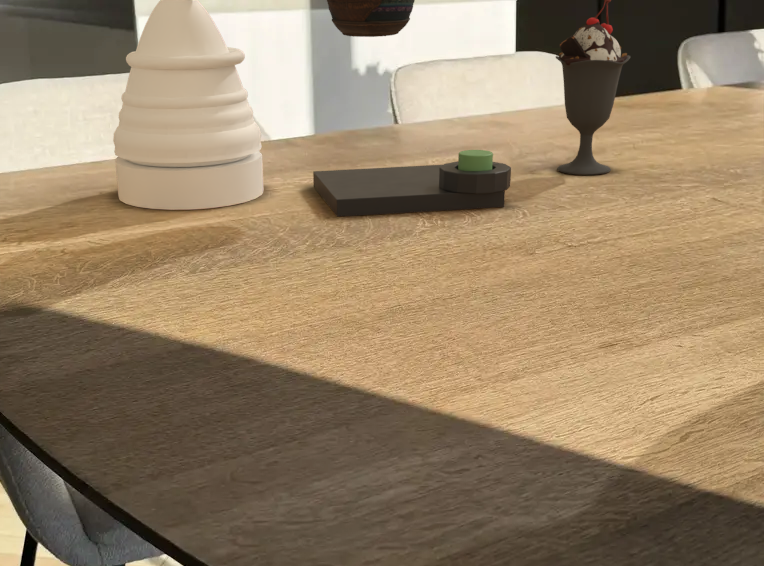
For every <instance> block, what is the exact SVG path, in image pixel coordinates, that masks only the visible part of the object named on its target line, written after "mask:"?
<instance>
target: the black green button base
mask: <svg viewBox="0 0 764 566" xmlns="http://www.w3.org/2000/svg"><path fill="white" fill-rule="evenodd" d="M312 174H313V175H312V178H313V179H312V180H313V188H314V190H316V192H317V193H318V194H319V196H320V197H321V198H322V199H323V201H324V202H325V203H326V204H327V206H328V207H329V208H330V209H331V211H332V212H333V213H334V215H335V216H336V217H338V218H339V217H357V216H374V215H375V216H376V215H390V214H391V215H393V214H405V213H406V214H408V213H426V212H427V213H428V212H441V211H443V212H444V211H458V210H459V211H460V210H461V211H462V210H479V209H493V208H494V209H495V208H504V207H505V196H506V191H507V190H508V189H509V188H510V187H511V180H512V179H511V178H512V167H511V166H509V165H508V164H507V163H503V162H498V161H493V163H492V170H488V171H463V170H458V161H453V162H452V161H451V162H447V163H444V164H429V165H410V166H409V165H407V166H406V165H405V166H391V167H390V166H389V167H371V168H370V167H369V168H351V169H335V170H334V169H331V170H330V169H329V170H315V171H313V172H312Z"/></svg>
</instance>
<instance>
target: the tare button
mask: <svg viewBox="0 0 764 566" xmlns="http://www.w3.org/2000/svg"><path fill="white" fill-rule="evenodd" d="M457 156H458V159H457V160H458V161H457V162H458V170H463V171H488V170H492V163H493V162H494V160H493V159H494V153H493V152H492V151H490V150H485V149H467V150H461V151H459V152H458V155H457Z"/></svg>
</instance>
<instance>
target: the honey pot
mask: <svg viewBox="0 0 764 566" xmlns="http://www.w3.org/2000/svg"><path fill="white" fill-rule="evenodd" d="M148 16H149V17H148V19H147V21H146V23H145V25H144V27H143V30H142V32H141V35H140V37H139V40H138V43H137V46H136V49H135V51H131V52H129V53H128V54H127V55H126V56H125V61H126V64H127V65H128V66H129V67H130V70H129V74H128V78H127V82H126V88H125V92H123V93H122V95H121V102H122V106H121V108H120V111H119V112H118V126H117V127H116V129H115V130H114V132H113V138H112V142H113V144H114V145H113V146H114V150H113V151H114V155H115V156H116V158H115V159H114V164H115V174H116V186H117V196H118V199H119V201H120V202H122V203H124V204H126V205H129V206H133V207H136V208H137V207H138V208H144V209H151V210H165V211H166V210H168V211H177V210H178V211H179V210H180V211H181V210H184V211H185V210H187V211H189V210H203V209H214V208H215V209H216V208H222V207H230V206H234V205H239V204H244V203H247V202H250V201H253V200H256V199H257V198H259V197H261V196H262V195H263V194H264V190H265V189H264V165H263V153H262V152H261V149H262V147H263V146H262V145H263V144H262V142H261V141H262V132H261V128H260V126H259V125H258V124H257V122H256V121H255V119H254V110H253V108H252V106H251V104H250V102H249V100H248V97H249V94H248V91H247V89H246V88H244V86H243V84H242V81H241V78H240V75H239V73H238V70H237V67H236V65H239V64H241V63H243V61H244V60H245V59H246V58H245V57H246V55H245V53H244V51H243V50H241V49H240V48H236V47H229V46H227V44H226V42H225V40H224V38H223V36H222V33H221V31H220V30H219V27H217V25H216V23H215V21H214V20H213V18H212V16H211V15H210V13H209V12H208V11H207V9H206V8H205V6H204V5H203V4H202V3H201V2H200V1H199V0H159V1H158V2H157V4H156V5H155V6H154V7H153V10H152V11H151V13H150V15H148Z"/></svg>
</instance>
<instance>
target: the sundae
mask: <svg viewBox="0 0 764 566" xmlns="http://www.w3.org/2000/svg"><path fill="white" fill-rule="evenodd" d="M611 2H612V0H603V6H602V8H601V9H600V11H599V12H598V13H597V14H596V15H595V16H594V17H589V18H588V19H587V20H586V21H585V24H584V25H583V26H581V27H579V28H578V29H577V30H576V31H575V33H574V34H572V35H571V36H569V37H567V38H566V39H565V40H563V41H562V42H560V43H559V48H560V51H561V52H559V54H558V55H556V56H555V59H556V60H557V61H559V62H560V63H561V66H562V68H561V69H562V78H563V79H562V80H563V96H564V97H563V98H564V108H565V116H566V119H567V120H568V122H569V123H570V124H571V126H572V127H574V128H575V129H576V130H577V131H578V132H579V147H578V151H577V154H576V156H575V157H574V159H573V160H571V161H570V162H567V163H564V164H560V165H558V166H557V168H556V169H557V171H558V172H560V173H562V174H567V175H575V176H596V175H597V176H598V175H604V174H608V173H610V172H611V171H612V169H611V167H610V166H608V165H605V164H603V163H599V162H598V161H597V160H596V159H595V157H594V155H593V138H594V134H595V133H596V132H597V130H599V129H600V128H602V127H603V126H604V125H605V124H606V122H608V120H609V119H610V117H611V114H612V111H613V108H614V104H615V101H616V100H615V99H616V94H617V90H618V85H619V80H620V77H621V72H622V69H623V65H625V64H626V63H627V62H628V61H630V59H631V55H629V54H628V53H627V52H624V53H622V46H621V45H620V44H619V42H618V40H617V39H616V38H615V37H614V36H612V35H611V34H612V33H613V30H614V29H613V26H612V25H611V24H610V21H609V3H611ZM605 6H606V9H605ZM604 9H605V13H606V14H605V17H606V18H605V20H606V23H605V22H603V23H601V24H600V20H599V19H598V17H599V15H601V13H602V12H603V10H604Z"/></svg>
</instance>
